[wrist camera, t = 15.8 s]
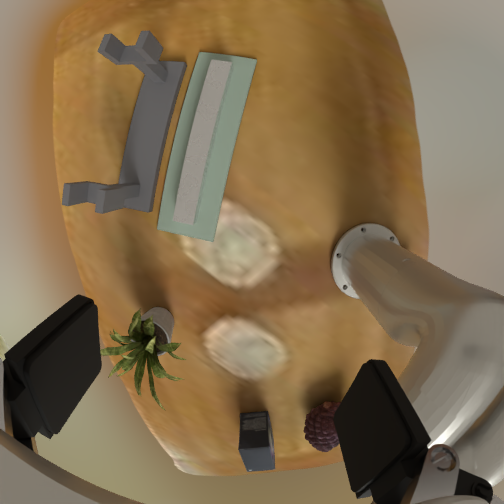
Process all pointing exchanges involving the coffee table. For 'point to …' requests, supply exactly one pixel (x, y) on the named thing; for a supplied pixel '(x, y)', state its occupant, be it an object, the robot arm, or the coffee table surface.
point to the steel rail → (202, 142)
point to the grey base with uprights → (137, 129)
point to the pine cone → (322, 426)
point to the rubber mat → (220, 149)
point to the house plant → (145, 346)
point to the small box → (256, 441)
